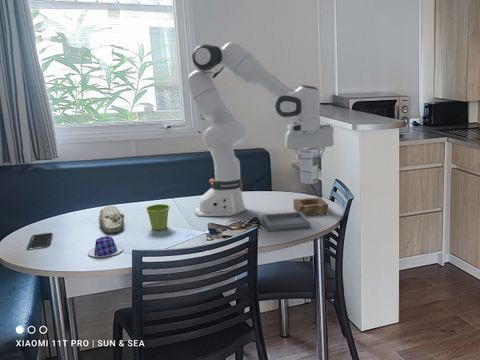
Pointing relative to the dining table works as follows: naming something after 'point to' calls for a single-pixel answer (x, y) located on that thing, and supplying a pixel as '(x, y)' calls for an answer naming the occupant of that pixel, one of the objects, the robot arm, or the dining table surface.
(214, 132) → the robot arm
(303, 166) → the syrup box
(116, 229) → the beige slipper
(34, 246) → the phone
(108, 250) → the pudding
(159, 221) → the plant pot
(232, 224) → the dining table surface
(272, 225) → the tray
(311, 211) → the socket block
